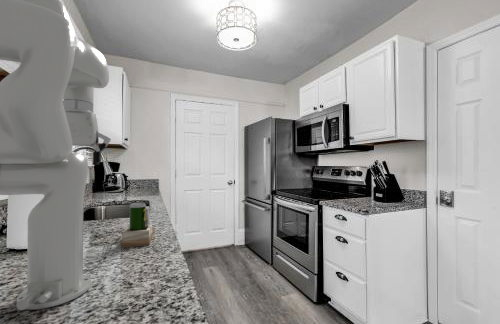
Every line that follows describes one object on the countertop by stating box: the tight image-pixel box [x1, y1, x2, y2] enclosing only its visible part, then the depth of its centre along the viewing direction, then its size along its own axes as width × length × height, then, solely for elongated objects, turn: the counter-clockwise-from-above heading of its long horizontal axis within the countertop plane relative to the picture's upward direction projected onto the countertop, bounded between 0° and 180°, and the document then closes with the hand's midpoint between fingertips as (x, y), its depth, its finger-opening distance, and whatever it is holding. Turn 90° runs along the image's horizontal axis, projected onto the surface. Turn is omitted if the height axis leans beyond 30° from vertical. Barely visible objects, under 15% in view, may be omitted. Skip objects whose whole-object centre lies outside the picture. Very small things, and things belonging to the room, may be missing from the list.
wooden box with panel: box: [120, 205, 156, 248], centre depth 91 cm, size 16×9×11 cm, turn 16°
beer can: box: [129, 202, 147, 231], centre depth 88 cm, size 5×5×12 cm
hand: (78, 164), depth 73 cm, fingers open, 9 cm apart
